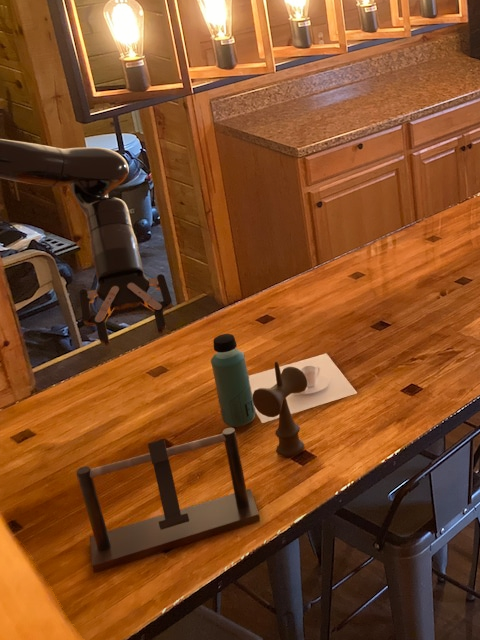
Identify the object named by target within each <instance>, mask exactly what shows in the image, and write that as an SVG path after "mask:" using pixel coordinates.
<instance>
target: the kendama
mask: <svg viewBox="0 0 480 640" xmlns="http://www.w3.org/2000/svg"><path fill="white" fill-rule="evenodd" d="M279 367H280V364H279V362H278V361H275V362H274V368H275V373H276V381H277V384H276V385H274V386H273V387H271V388H259V389H257V390H255V391H254V393H253V403H254V406H255V407H256V409H257V410H258V411H259V412H260V413H261V414H263V415H265V416H267V417H275V416H278V415H279V418H278V427H277V429H276V430H275V433H274V434H275V436H276V437H277V438H278V445H277V447H276V449H275V452H276V454H277V455H279V456H281V457H285V458H289V457H294V456H296V455H298V454H300V453H301V452H302V451H303V450H304V448H305V442H304V441H302V439H300V437H299V432H300V430H301V426H299V424H297V423H295V420H294V419H293V415H292V414H291V413H290V410H289V407H288V404H287V400H286V397H287V396H288V395H290V394H291V393H300V392H303V391H305V389H306V387H307V379H306V376H305V375H304V373H303V372H302V371H301V370H299V369H298V368H295V367H287V368H284V369H283V371H282V373H280V368H279Z"/></svg>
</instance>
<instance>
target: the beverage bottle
mask: <svg viewBox="0 0 480 640" xmlns="http://www.w3.org/2000/svg"><path fill="white" fill-rule="evenodd" d="M212 343H213V350H214V351H215V353H214V355H213V356H212V357H211V359H210V364H211V366H212V367H211V368H212V373H213V377H214V382H215V389H216V395H217V398H218V399H217V400H218V405H219V409H220V410H219V411H220V416H221V420H222V422H223V423H224V424H225V425H226V426H228V427H230V428H235V427H236V428H237V427H242V426H246V425H248V424H250V423H252V421H254V420H255V418H256V410H255V407H254V403H253V398H252V391H251V387H250V382H249V378H250V377H249V371H248V367H247V363H246V358H245V357H246V356H245V353H244V352H243V351H242V350H240V349H239V348H238V349H237V341H236V338H235V336H234V335H233V334H232V333H223V334H220V335H217V336H216V337H214V338H213V342H212Z"/></svg>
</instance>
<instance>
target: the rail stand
mask: <svg viewBox="0 0 480 640" xmlns="http://www.w3.org/2000/svg"><path fill="white" fill-rule="evenodd" d="M220 443H224V447H225V453H226V458H227V463H228V468H229V469H228V470H229V473H230V479H231V483H232V488H233V489H232V490H233V493H231V494H227V495H224V496H221V497H217V498H213V499H210V500H206V501H204V502H201V503H197V504H194V505H190V506H187V507H183V508H180V512H181V515H182V514H186V513H188V517H189V522H186V523H182V524H179V525H176V526H172V527H169V528H166V529H162V530H161V529H160V527H159V521H162V520H165V516H164V513H163V514H160V515H157V516H154V517H150V518H146V519H143V520H140V521H137V522H133V523H130V524H126V525H123V526H119V527H116V528H113V529H109V530H108V528H107V525H106V522H105V518H104V513H103V511H102V506H101V503H100V499H99V495H98V492H97V487H96V484H95V481H94V478H96V477H100V476H104V475H107V474H111V473H115V472H118V471H122V470H125V469H129V468H133V467H136V466H140V465H143V464H147V463H152V460H151V456H150V452H149V453H145V454H141V455H138V456H134V457H130V458H125V459H122V460H119V461H115V462H112V463H107V464H104V465H100V466H97V467H93V468H91V467H90V466H88V465H87V466H86V465H85V466H81V467H79V468H78V469H77V470H76V471H75V473H76V477H77V478H76V479H77V482H78V483H79V489H80V491H81V494H82V498H83V502H84V505H85V509H86V513H87V516H88V520H89V522H90V523H89V524H90V527H91V530H92V531H91V532H92V534H93V535H89V545H90V546H89V547H90V559H91V568H92V572H93V574H95V573H100V572H101V571H102V572H103V571H105V570H108V569H111V568H114V567H118V566H121V565H125V564H128V563H130V562H134V561H137V560H141V559H143V558H146V557H151V556H153V555H156V554H159V553H162V552H165V551H169V550H172V549H175V548H179V547H182V546H186V545H188V544H191V543H194V542H197V541H198V542H199V541H201V540H205V539H207V538H211V537H213V536H214V537H215V536H216V535H219V534H223V533H226V532H229V531H232V530H237V529H239V528H242V527H245V526H249V525H252V524H256V523H257V522H261V518H260V514H259V510H258V506H257V503H256V500H255V497H254V495H253V492H252V491H253V490H252V489H251V488H247V486H246V485H247V484H246V481H245V475H244V470H243V466H242V465H243V464H242V460H241V453H240V449H239V444H238V438H237V432H236V429H235V427H227V428H224V429H223V430H222V432H221V433H219V434H215V435H212V436H207V437H205V438H201V439H197V440H193V441H190V442H185V443H182V444H179V445H174V446H171V447H166V448H167V449H166V450H167V455H168V457H169V458H170V457H173V456H177V455H180V454H184V453H188V452H191V451H196V450H199V449H203V448H207V447H209V446H213V445H218V444H220Z"/></svg>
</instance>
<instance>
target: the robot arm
mask: <svg viewBox="0 0 480 640" xmlns="http://www.w3.org/2000/svg"><path fill="white" fill-rule="evenodd" d="M129 170H130V168H129V165H128V162H127V160H126V159H125V158H124V157H123V156H122V155H121V154H120V153H118V152H117V151H114V150H112V149H110V148H105V147H94V146H92V147H89V146H88V147H86V146H85V147H68V148H67V147H66V148H61V147H56V146H49V145H46V144H40V143H34V142H27V141H21V140H13V139H5V138H0V179H4V180H8V181H13V182H17V183H23V184H30V185H37V186H43V187H48V188H49V187H51V188H64V187H65V186H68V185H69V188H70V190H71V193H72V195H73V197H74V198H75V200H76V202H77V204H78V205H79V207H80V209H81V210H82V212H83V214H84V215H85V221H86V224H87V229H88V235H89V241H90V243H89V245H90V252H91V257H92V261H93V267H94V270H95V276H96V281H97V288H96V289H91V290H87V289H85V288H82V289H80V290H79V291H78V293H79V301H80V309H81V317H82V322H83V324H84V325H85V326H87V327H89V326H95V327H96V331H97V336H98V339H99V342H100V344H104V346H105V347H106V346H110V343H111V342H110V339H109V334H108V328H107V325H106V322H107V321H108V318H109V317H110V316H111V315H112V313H113V311H114V310H118V311H120V310H121V311H122V310H124V309H127V308H135V307H138V306H139V305H140V304H141V305H143V306H144V307H145V308H147V309H149V310H151V311H152V312H153V315H154V320H155V324H156V328H157V333H158V335H162V334H164V331H165V330H166V328H167V324H166V321H165V316H164V312H165V311H167V310H170V309H172V308H173V300H172V297H171V293H170V289H169V286H168V283H167V281H166V277H165V275H164V274H162V273H159V274H158V275H157V276H156V277H153V278H147V277H146V275H145V271H144V266H143V261H142V257H141V254H140V247H139V246H138V245H139V244H138V240H137V237H136V234H135V233H134V232H135V231H134V228H133V225H132V220H131V216H130V211H129V208H128V205H127V204H126V202H125V201H124V200H122V199H120V198H118V197H111V196H110V197H109V192H111V191H112V190H114V189H115V188H116V187H118V186H119V185H121V184H122V183H123V182H124V181H125V180H126V179H127V178H128V177H129ZM150 287H153V288H154V290H157V291H159V292H160V295H161V297H162V301H161V302H159V301H157V300H155V298H153V296H151V295H150V294H148V291H149V289H150ZM96 297H98V298H99V299H100V300H102V301H103V302H102V304H101V306H100V308H99V311H98V312H97V314H96V315H92V310H91V309H92V308H91V304H93V303H94V302H95V298H96Z"/></svg>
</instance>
